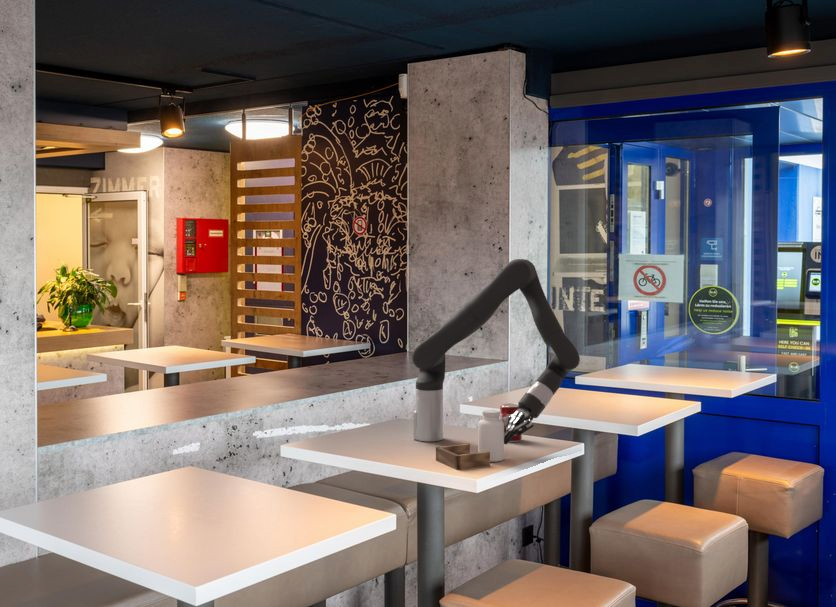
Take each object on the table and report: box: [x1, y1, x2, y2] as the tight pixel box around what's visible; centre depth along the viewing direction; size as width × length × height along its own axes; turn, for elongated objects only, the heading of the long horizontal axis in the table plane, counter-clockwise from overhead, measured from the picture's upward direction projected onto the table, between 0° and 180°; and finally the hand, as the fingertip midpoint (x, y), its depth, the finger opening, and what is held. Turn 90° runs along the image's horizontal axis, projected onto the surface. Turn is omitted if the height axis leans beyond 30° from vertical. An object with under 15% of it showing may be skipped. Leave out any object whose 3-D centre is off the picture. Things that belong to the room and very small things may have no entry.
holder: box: [435, 443, 491, 471], centre depth 275 cm, size 11×13×4 cm
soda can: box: [499, 403, 523, 443], centre depth 306 cm, size 7×7×12 cm
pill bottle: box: [477, 409, 505, 463], centre depth 278 cm, size 8×8×15 cm
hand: (502, 442), depth 281 cm, fingers closed
